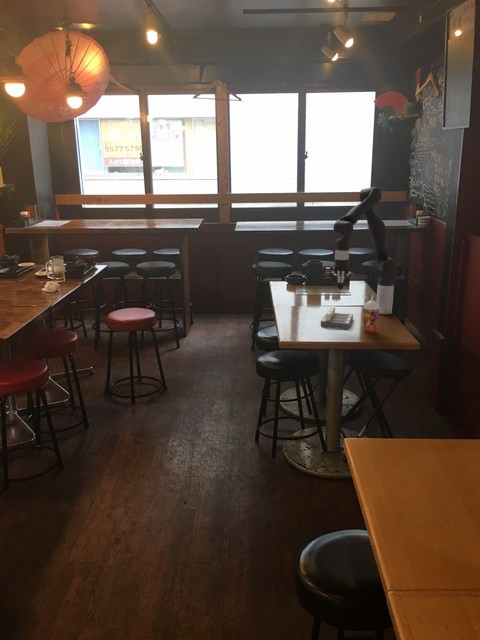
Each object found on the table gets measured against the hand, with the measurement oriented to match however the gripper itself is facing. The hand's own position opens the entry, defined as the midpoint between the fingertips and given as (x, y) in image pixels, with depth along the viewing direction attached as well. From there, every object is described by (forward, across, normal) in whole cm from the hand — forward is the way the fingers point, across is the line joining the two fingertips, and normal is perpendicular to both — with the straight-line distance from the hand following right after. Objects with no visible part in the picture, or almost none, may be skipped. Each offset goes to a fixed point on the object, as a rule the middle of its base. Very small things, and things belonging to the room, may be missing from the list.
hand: (340, 289), depth 309 cm
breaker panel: (+19, +1, +1) cm, 19 cm away
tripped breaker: (+16, +5, +1) cm, 17 cm away
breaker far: (+16, +5, -5) cm, 17 cm away
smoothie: (+20, -18, +12) cm, 30 cm away
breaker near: (+16, +5, +8) cm, 18 cm away
